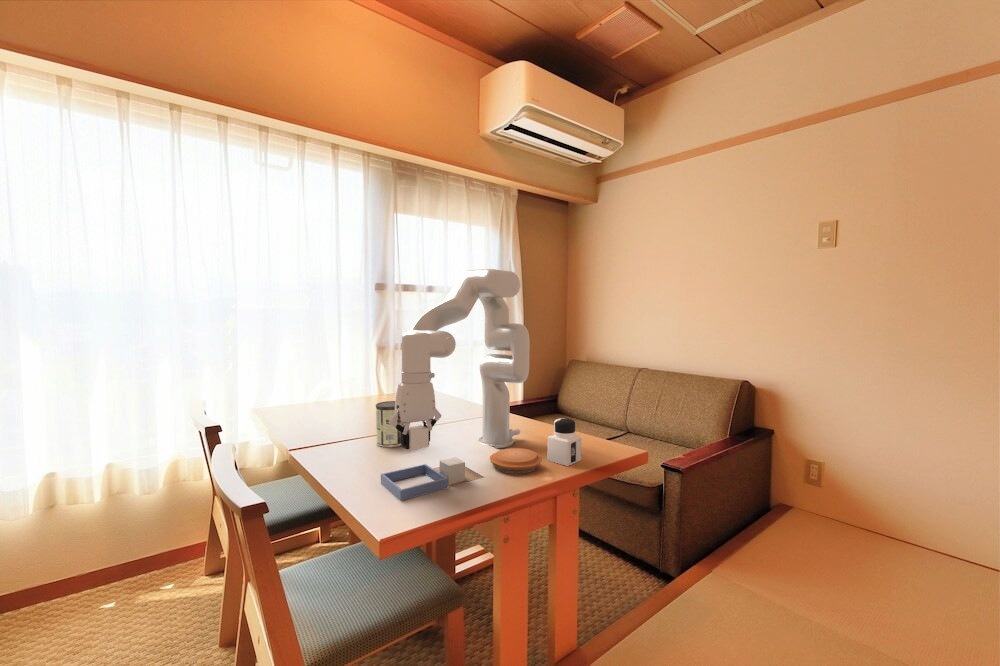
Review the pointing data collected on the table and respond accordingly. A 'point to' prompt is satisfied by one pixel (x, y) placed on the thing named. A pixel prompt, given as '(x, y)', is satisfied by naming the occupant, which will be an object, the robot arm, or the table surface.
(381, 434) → the coffee can
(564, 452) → the container
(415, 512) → the table surface
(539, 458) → the pie
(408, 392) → the robot arm
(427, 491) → the rectangular frame
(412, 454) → the table surface
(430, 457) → the table surface
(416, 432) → the white block
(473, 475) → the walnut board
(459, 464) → the pale white cube
